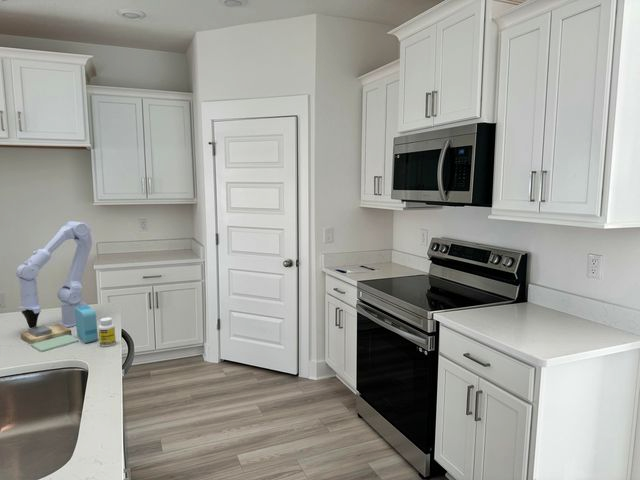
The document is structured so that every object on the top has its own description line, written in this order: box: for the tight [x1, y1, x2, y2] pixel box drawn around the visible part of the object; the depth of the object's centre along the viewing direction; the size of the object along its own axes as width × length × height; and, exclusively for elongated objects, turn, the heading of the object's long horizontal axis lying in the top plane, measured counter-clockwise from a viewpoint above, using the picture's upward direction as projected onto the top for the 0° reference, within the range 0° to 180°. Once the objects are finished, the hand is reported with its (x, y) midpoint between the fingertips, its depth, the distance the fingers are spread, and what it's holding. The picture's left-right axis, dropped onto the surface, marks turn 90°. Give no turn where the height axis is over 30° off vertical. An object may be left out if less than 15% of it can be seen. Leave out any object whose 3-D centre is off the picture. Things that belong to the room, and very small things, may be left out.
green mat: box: [30, 335, 80, 353], centre depth 167 cm, size 13×10×1 cm
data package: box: [75, 304, 99, 344], centre depth 171 cm, size 12×4×12 cm, turn 42°
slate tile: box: [27, 324, 52, 337], centre depth 173 cm, size 6×8×2 cm
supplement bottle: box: [98, 317, 117, 347], centre depth 165 cm, size 5×5×10 cm
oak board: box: [19, 323, 73, 345], centre depth 174 cm, size 14×12×2 cm
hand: (32, 327), depth 177 cm, fingers closed
